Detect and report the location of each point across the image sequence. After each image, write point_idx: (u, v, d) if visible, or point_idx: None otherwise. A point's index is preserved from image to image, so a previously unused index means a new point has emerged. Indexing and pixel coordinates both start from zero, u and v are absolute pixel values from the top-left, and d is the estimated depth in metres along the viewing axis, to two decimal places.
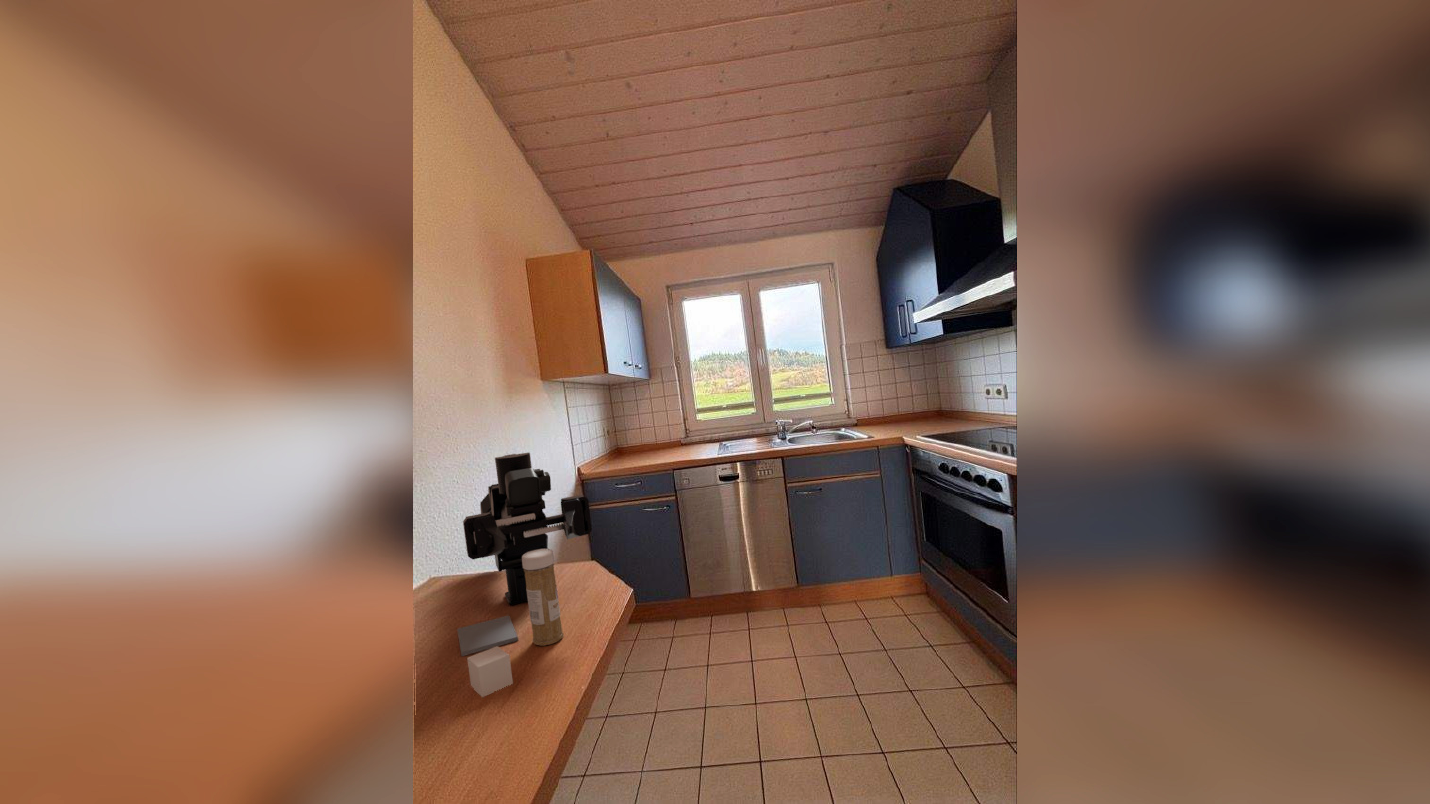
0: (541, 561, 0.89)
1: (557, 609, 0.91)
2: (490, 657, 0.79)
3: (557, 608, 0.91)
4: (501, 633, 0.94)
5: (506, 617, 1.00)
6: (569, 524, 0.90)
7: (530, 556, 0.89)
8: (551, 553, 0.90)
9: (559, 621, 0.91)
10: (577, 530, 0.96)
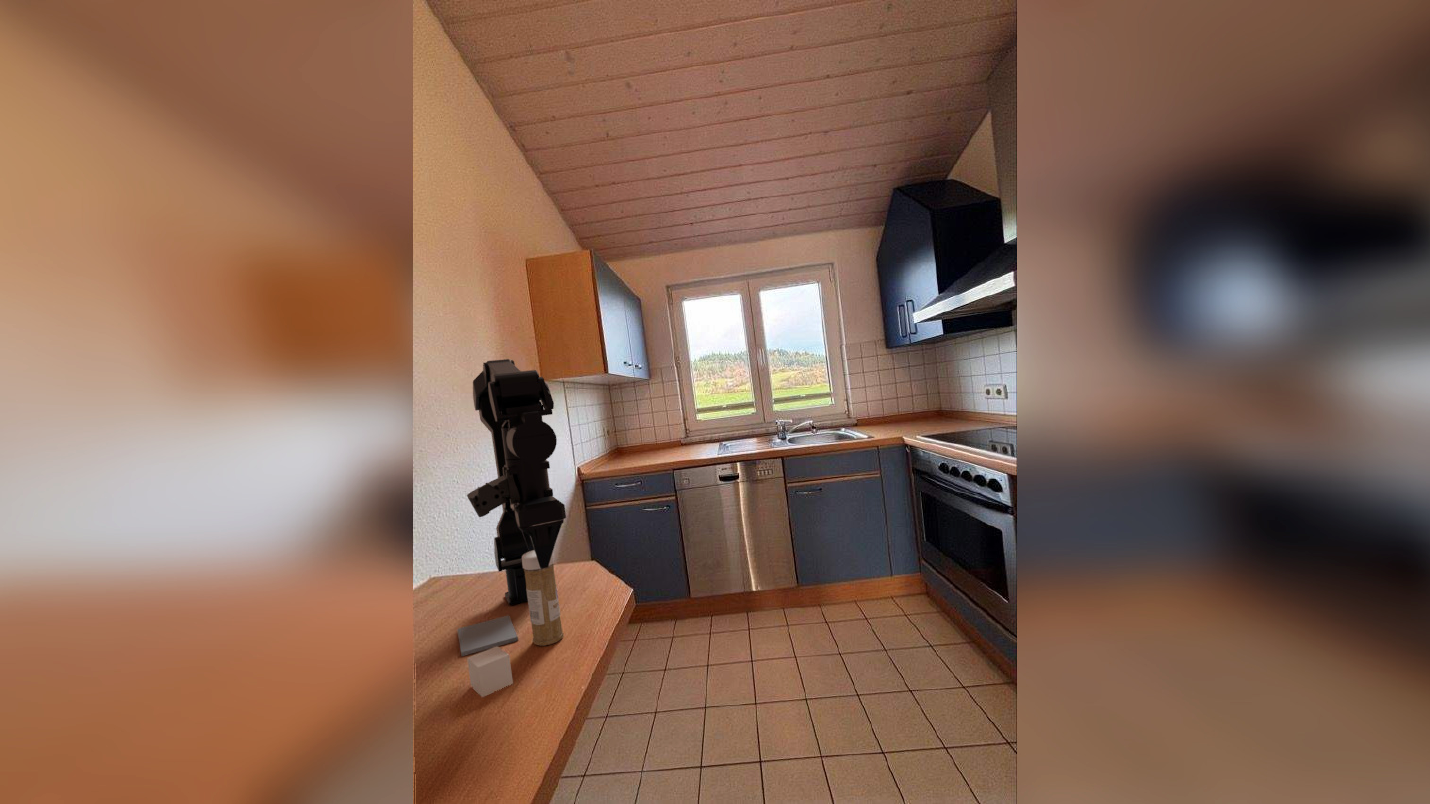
0: None
1: (557, 609, 0.91)
2: (490, 657, 0.79)
3: (557, 608, 0.91)
4: (501, 633, 0.94)
5: (506, 617, 1.00)
6: None
7: (530, 556, 0.89)
8: None
9: (559, 621, 0.91)
10: None
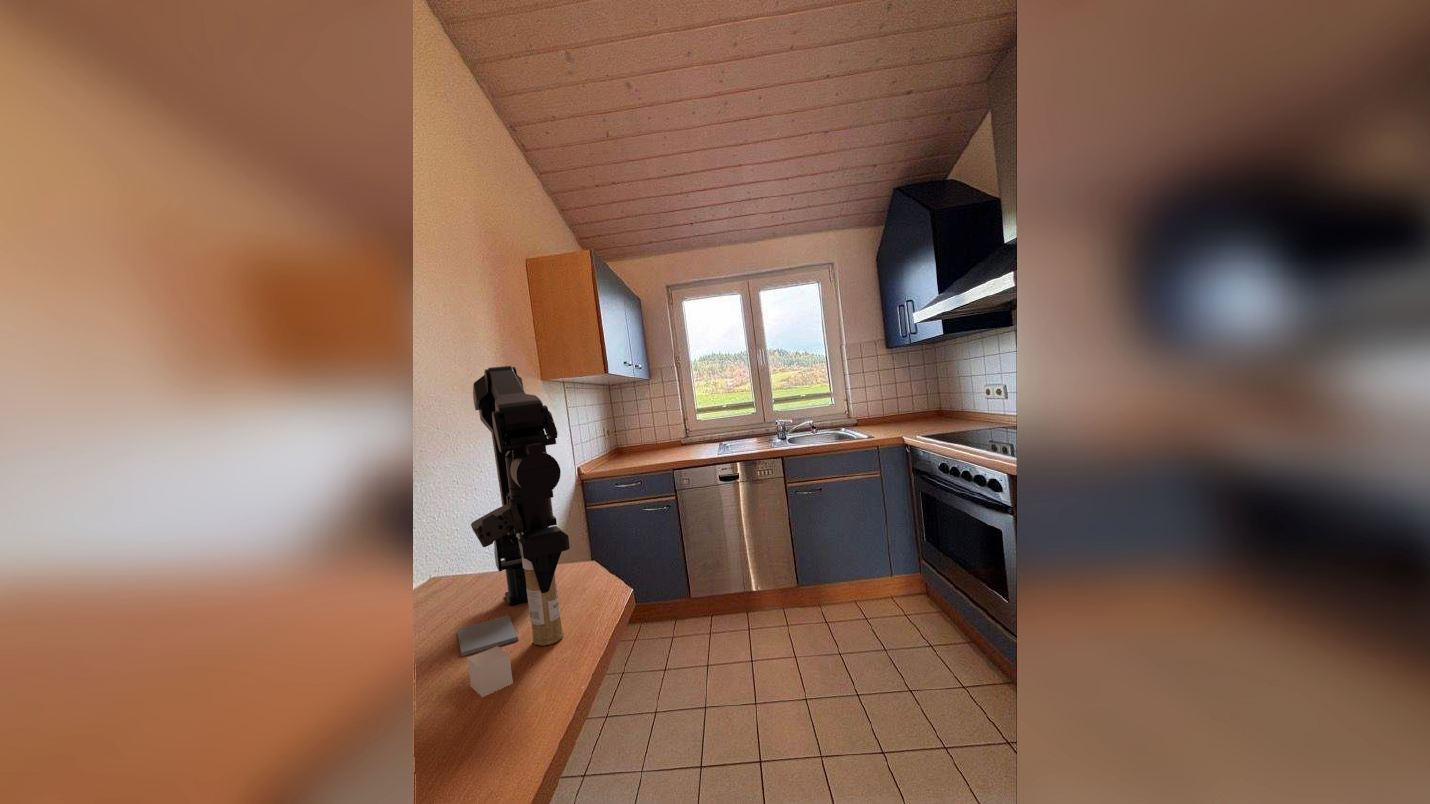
0: None
1: (557, 609, 0.91)
2: (490, 657, 0.79)
3: (557, 608, 0.91)
4: (501, 633, 0.94)
5: (506, 617, 1.00)
6: None
7: None
8: None
9: (559, 621, 0.91)
10: None
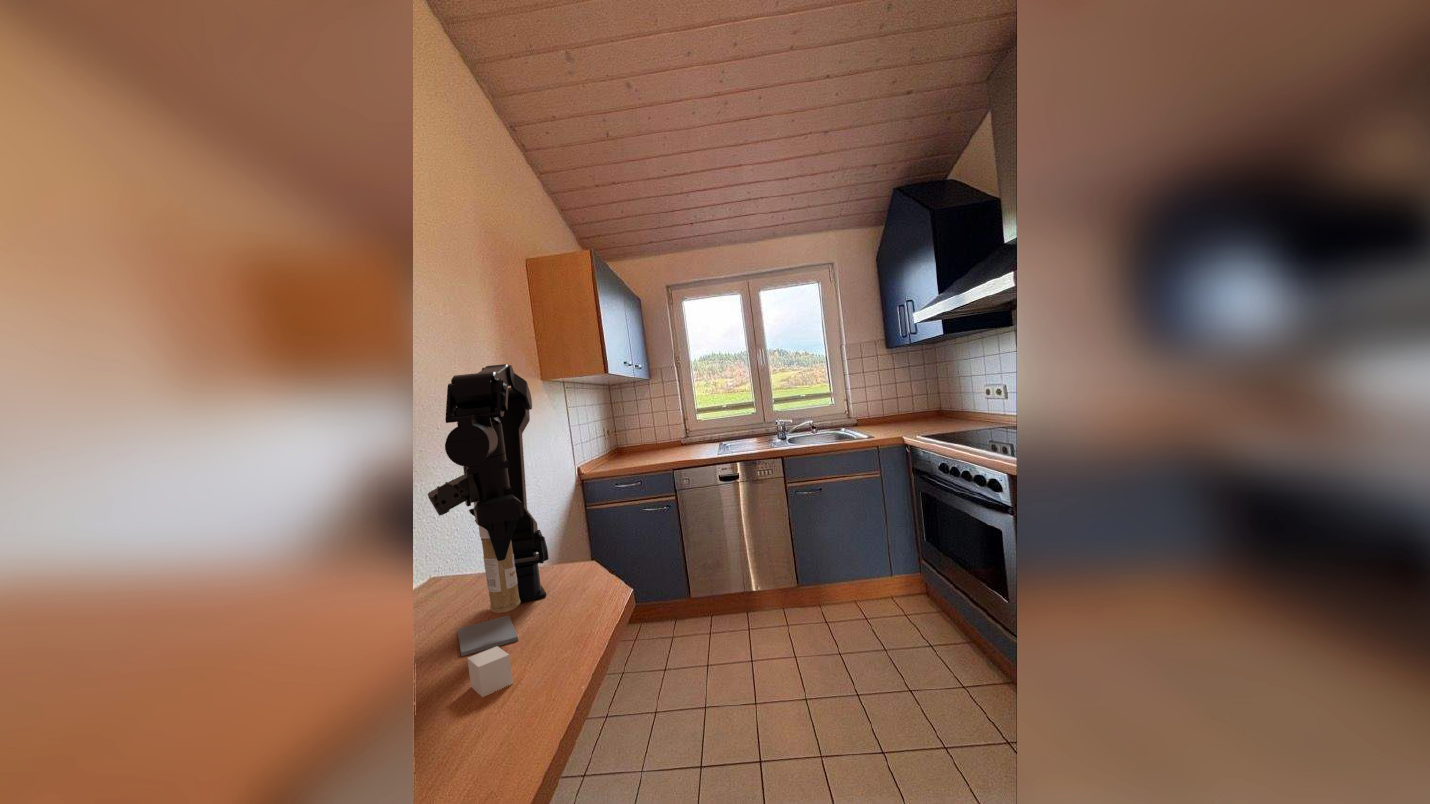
0: None
1: (514, 577, 0.93)
2: (490, 657, 0.79)
3: (514, 576, 0.93)
4: (501, 633, 0.94)
5: (506, 617, 1.00)
6: (496, 556, 0.91)
7: None
8: None
9: (516, 589, 0.93)
10: None
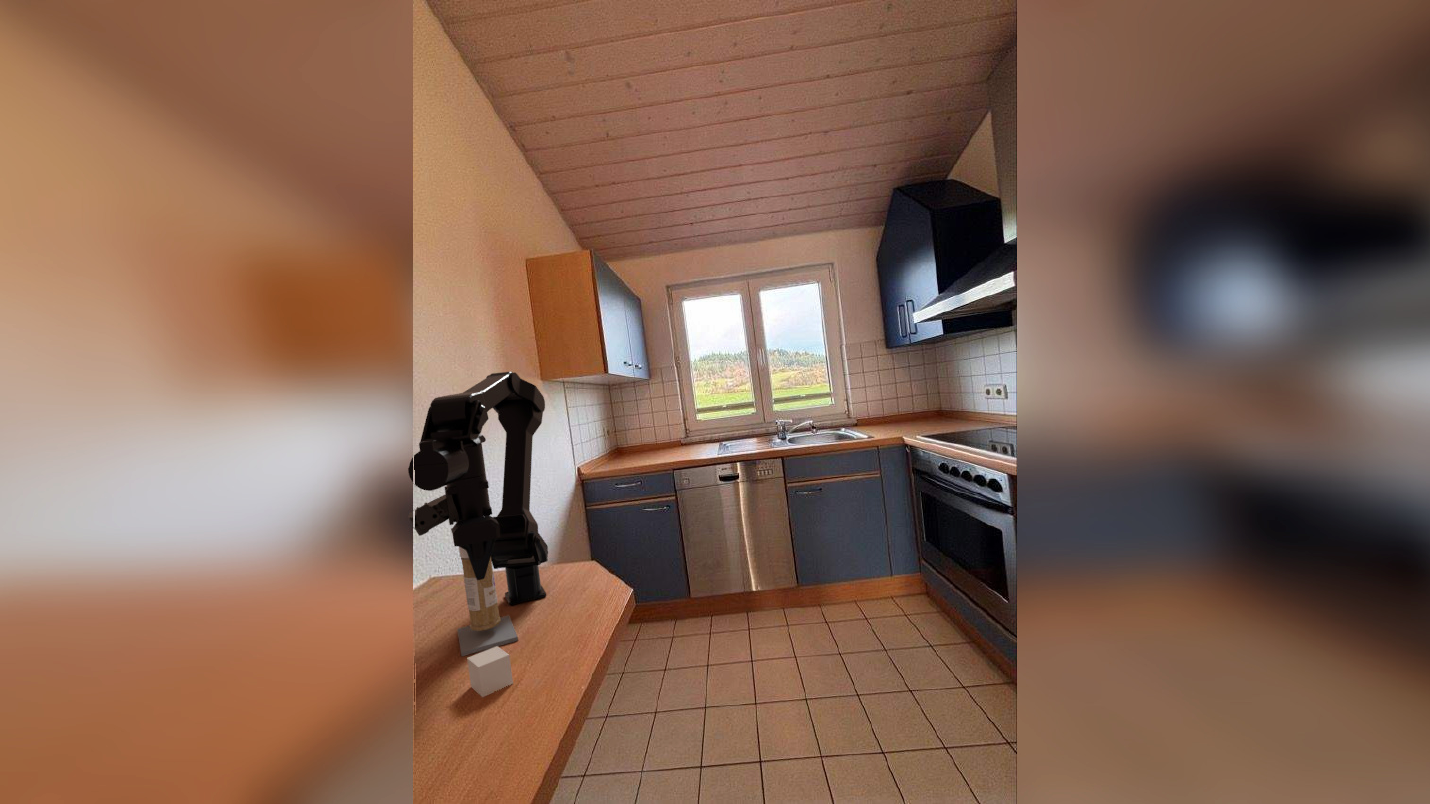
0: None
1: (493, 596, 0.94)
2: (490, 657, 0.79)
3: (493, 595, 0.94)
4: (501, 633, 0.94)
5: (506, 617, 1.00)
6: (475, 575, 0.92)
7: None
8: None
9: (495, 608, 0.95)
10: None
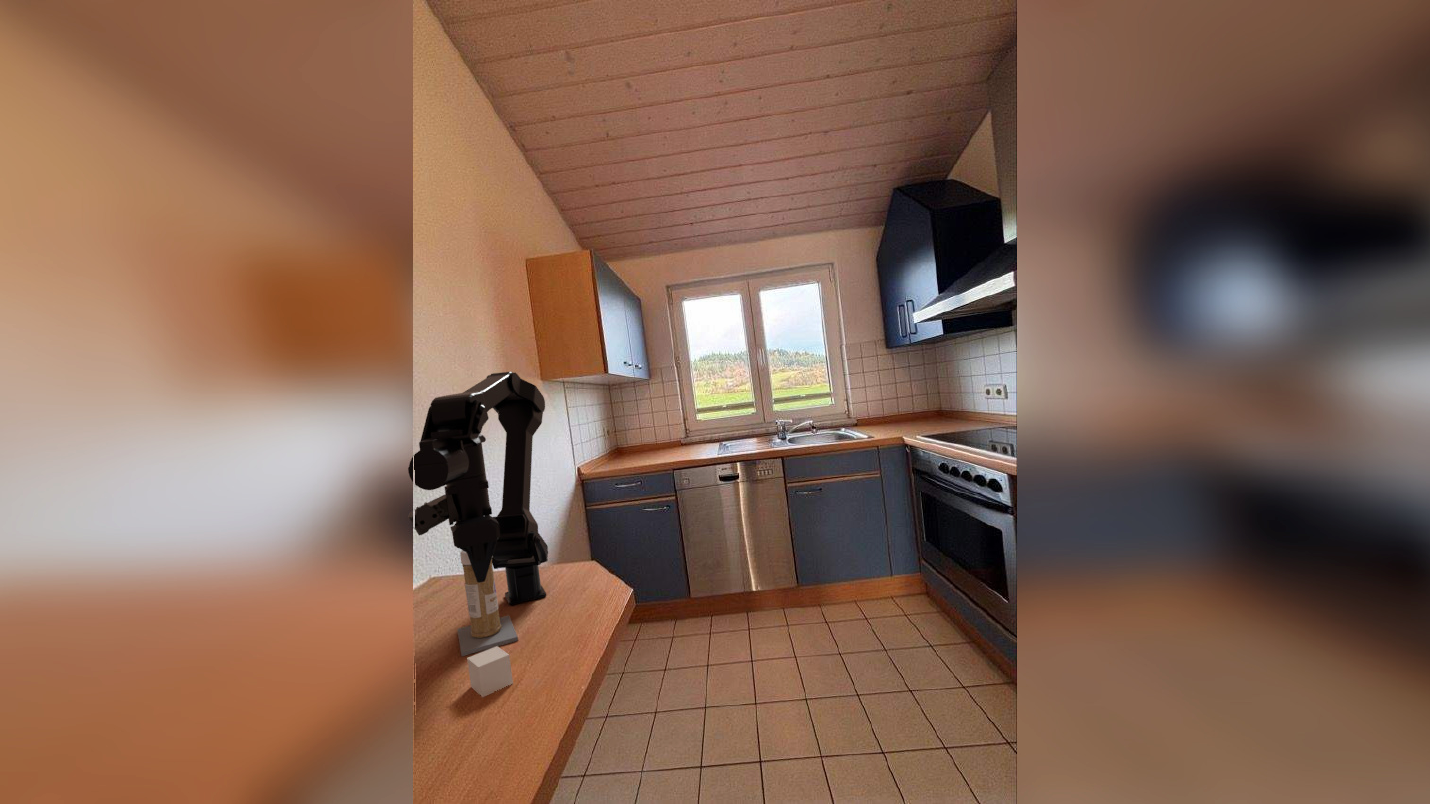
0: None
1: (494, 603, 0.94)
2: (490, 657, 0.79)
3: (494, 602, 0.94)
4: (501, 633, 0.94)
5: (506, 617, 1.00)
6: None
7: None
8: None
9: (496, 615, 0.95)
10: None
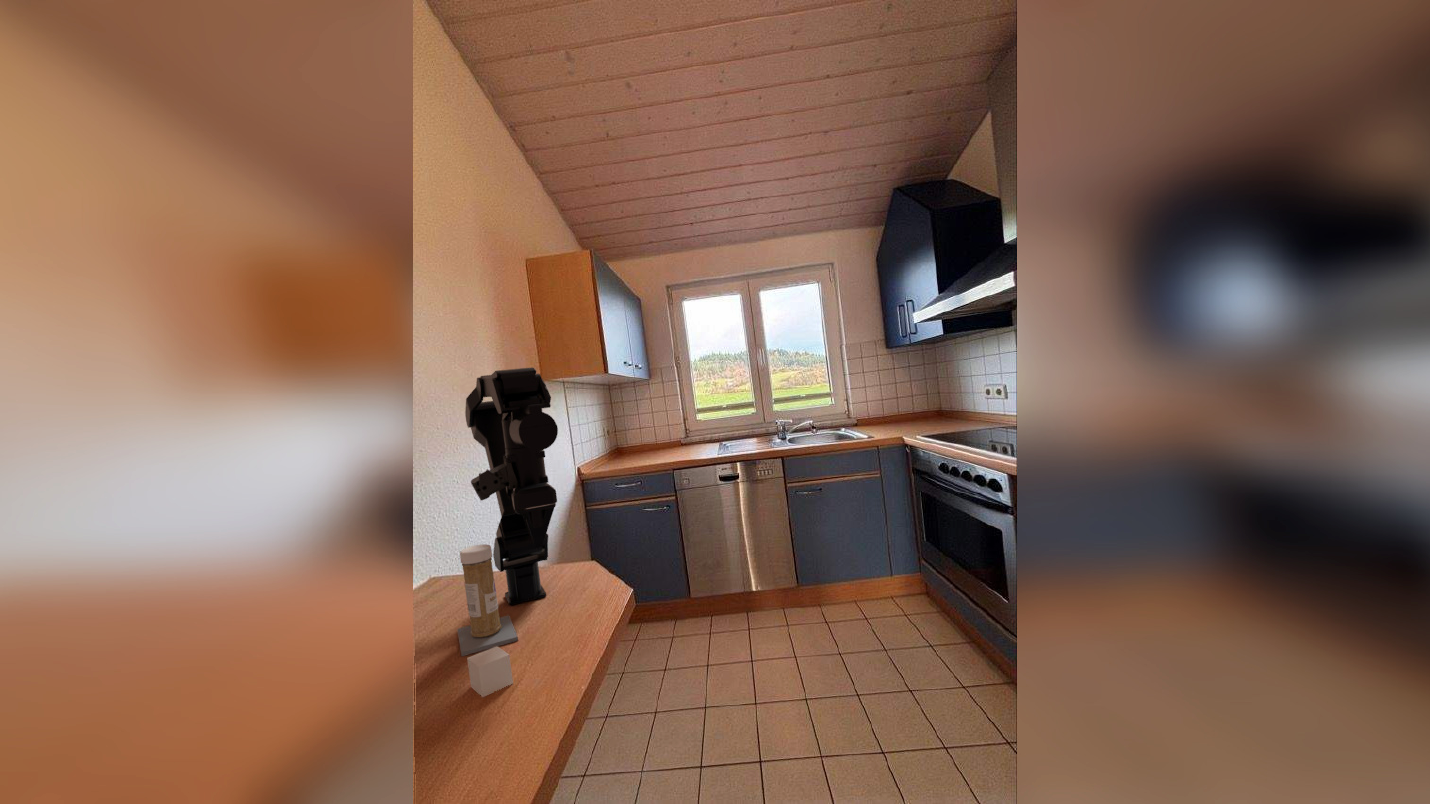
0: (478, 556, 0.93)
1: (494, 602, 0.94)
2: (490, 657, 0.79)
3: (494, 601, 0.94)
4: (501, 633, 0.94)
5: (506, 617, 1.00)
6: (534, 543, 0.95)
7: (467, 551, 0.93)
8: (488, 548, 0.94)
9: (496, 614, 0.95)
10: None
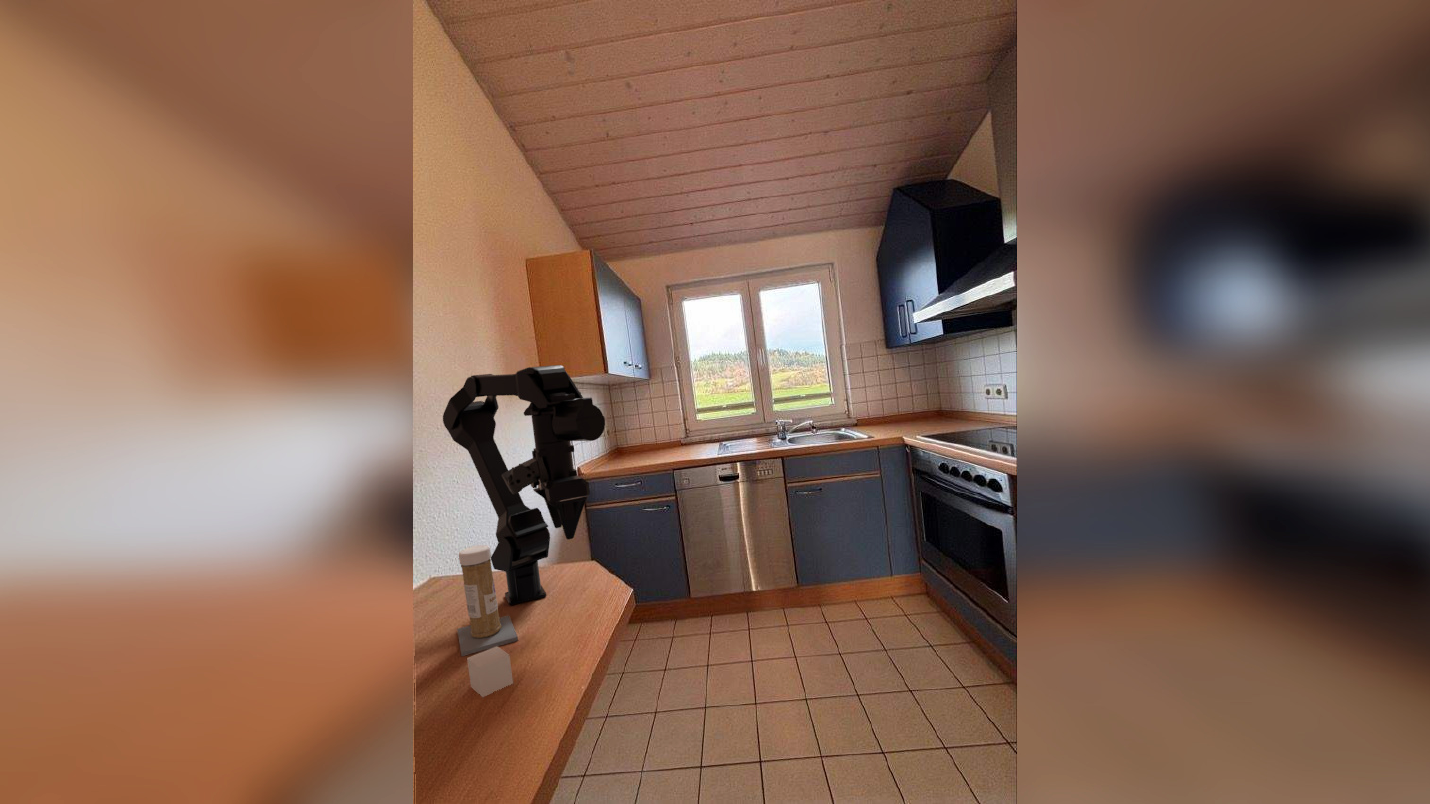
0: (477, 557, 0.92)
1: (494, 603, 0.94)
2: (490, 657, 0.79)
3: (494, 602, 0.94)
4: (501, 633, 0.94)
5: (506, 617, 1.00)
6: (565, 535, 0.98)
7: (466, 552, 0.92)
8: (487, 549, 0.94)
9: (496, 614, 0.95)
10: None
